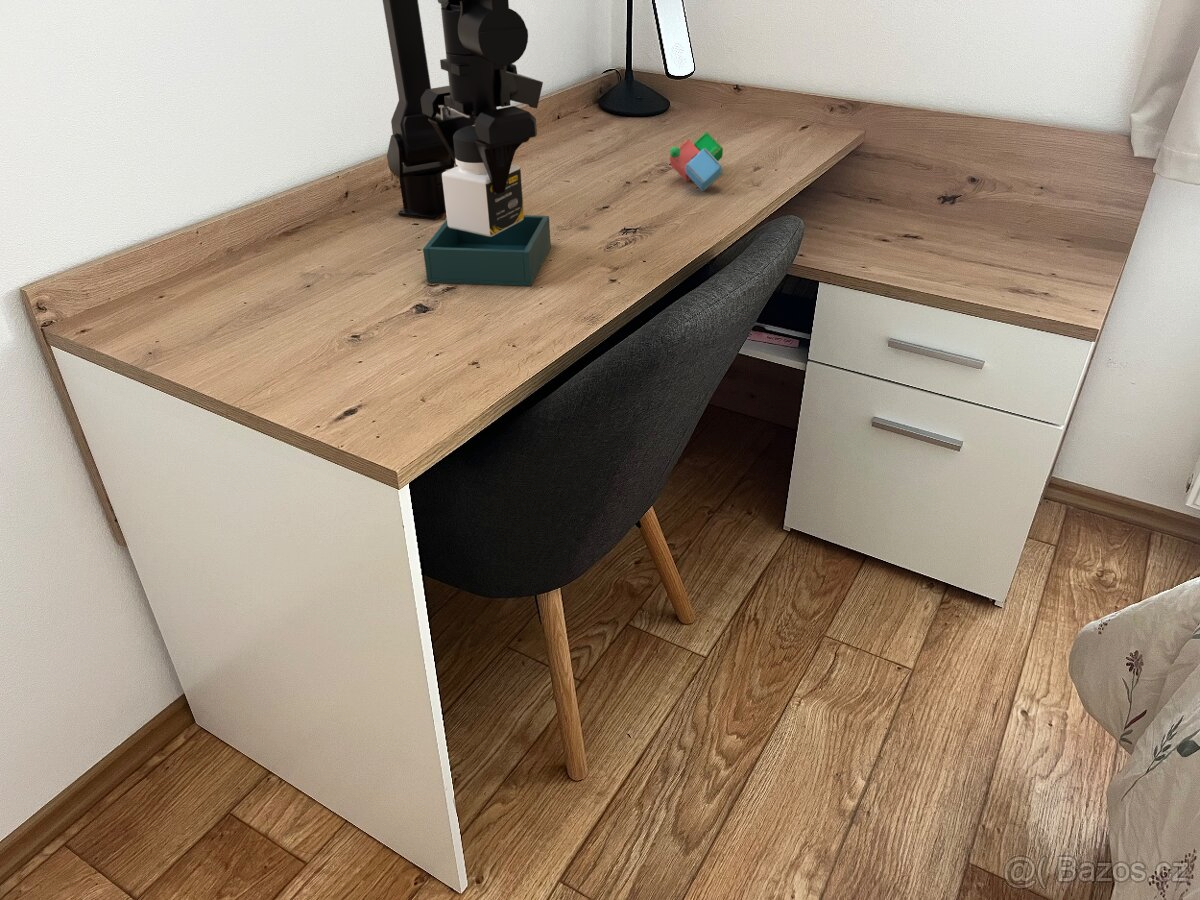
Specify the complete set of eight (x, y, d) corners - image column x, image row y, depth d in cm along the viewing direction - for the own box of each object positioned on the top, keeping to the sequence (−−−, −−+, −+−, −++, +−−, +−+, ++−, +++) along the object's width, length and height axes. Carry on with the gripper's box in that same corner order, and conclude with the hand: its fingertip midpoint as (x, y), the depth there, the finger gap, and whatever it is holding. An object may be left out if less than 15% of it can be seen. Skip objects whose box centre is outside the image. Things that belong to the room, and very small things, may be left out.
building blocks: (703, 206, 153) (702, 183, 141) (669, 171, 154) (666, 145, 142) (739, 173, 153) (741, 147, 141) (705, 138, 154) (705, 109, 142)
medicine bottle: (491, 238, 116) (482, 139, 109) (446, 228, 119) (435, 132, 113) (525, 220, 121) (518, 125, 114) (481, 211, 124) (472, 118, 118)
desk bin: (427, 282, 119) (422, 248, 116) (455, 244, 129) (451, 213, 127) (531, 286, 117) (528, 251, 114) (550, 247, 127) (549, 215, 125)
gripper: (572, 53, 106) (577, 190, 114) (492, 30, 119) (502, 154, 127) (485, 67, 101) (497, 209, 109) (411, 42, 114) (427, 170, 122)
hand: (482, 183), depth 117 cm, fingers closed on medicine bottle, 8 cm apart
